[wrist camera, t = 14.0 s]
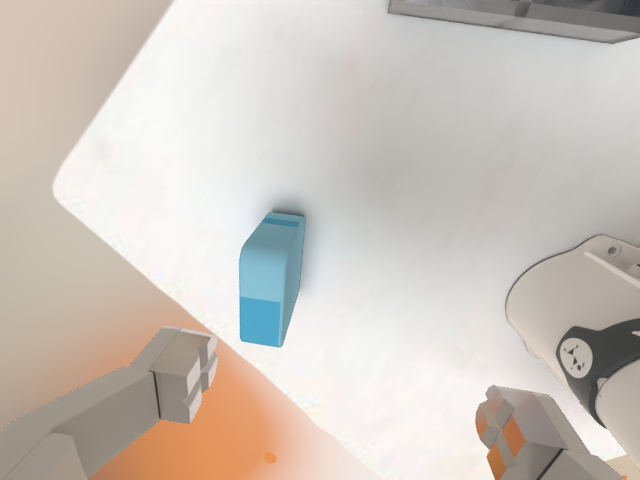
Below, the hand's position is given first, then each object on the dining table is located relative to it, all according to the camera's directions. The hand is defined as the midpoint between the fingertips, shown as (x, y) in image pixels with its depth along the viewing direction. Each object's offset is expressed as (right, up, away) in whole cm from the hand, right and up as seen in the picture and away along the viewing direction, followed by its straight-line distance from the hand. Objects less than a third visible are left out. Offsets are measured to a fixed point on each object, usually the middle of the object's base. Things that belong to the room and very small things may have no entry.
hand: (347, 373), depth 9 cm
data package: (-5, +2, +32) cm, 33 cm away
